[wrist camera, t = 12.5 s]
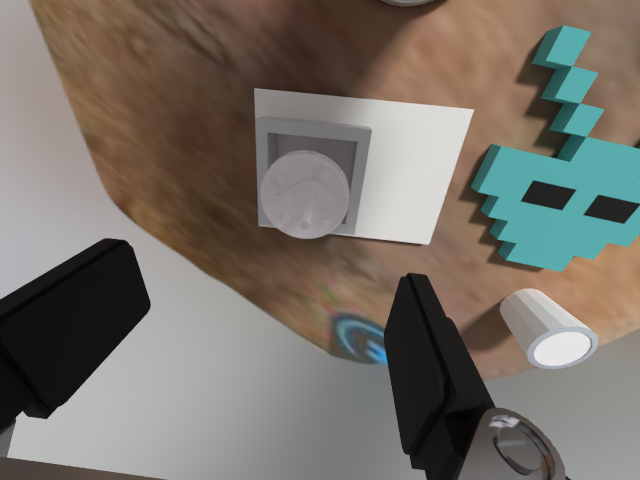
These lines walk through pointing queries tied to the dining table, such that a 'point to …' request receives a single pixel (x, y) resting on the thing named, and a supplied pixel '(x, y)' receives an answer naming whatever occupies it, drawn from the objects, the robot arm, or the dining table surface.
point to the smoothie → (305, 194)
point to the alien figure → (562, 176)
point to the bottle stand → (368, 156)
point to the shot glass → (546, 330)
